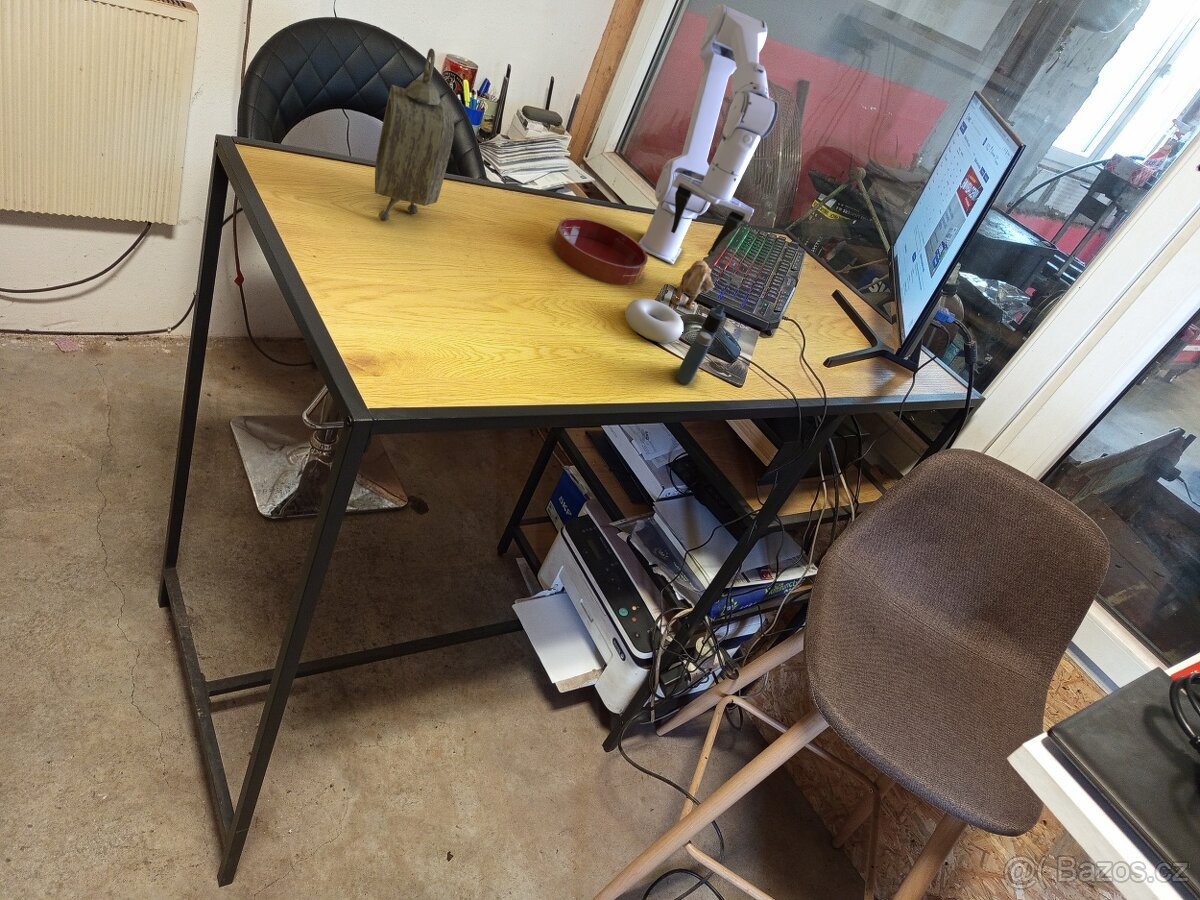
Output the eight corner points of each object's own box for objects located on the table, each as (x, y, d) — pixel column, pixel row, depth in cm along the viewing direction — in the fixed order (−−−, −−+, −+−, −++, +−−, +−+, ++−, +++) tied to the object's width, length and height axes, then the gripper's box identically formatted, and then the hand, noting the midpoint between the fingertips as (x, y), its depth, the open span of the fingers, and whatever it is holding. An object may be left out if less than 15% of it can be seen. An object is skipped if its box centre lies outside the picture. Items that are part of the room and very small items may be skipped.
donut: (616, 329, 122) (675, 354, 122) (624, 311, 120) (683, 336, 120) (627, 305, 130) (682, 328, 130) (634, 287, 128) (690, 311, 128)
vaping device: (695, 373, 120) (730, 308, 113) (688, 387, 115) (724, 320, 108) (680, 366, 120) (714, 300, 113) (672, 379, 115) (707, 312, 109)
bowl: (567, 225, 147) (574, 208, 145) (648, 264, 146) (655, 248, 144) (539, 252, 133) (545, 234, 131) (628, 295, 132) (636, 278, 130)
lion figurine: (697, 322, 135) (720, 277, 129) (669, 310, 134) (691, 265, 129) (698, 288, 146) (719, 246, 141) (673, 277, 146) (693, 234, 141)
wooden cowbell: (370, 185, 129) (401, 27, 115) (425, 199, 132) (461, 47, 118) (371, 223, 118) (405, 55, 104) (429, 238, 122) (470, 77, 108)
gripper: (684, 154, 126) (651, 229, 134) (764, 192, 126) (727, 265, 134) (691, 145, 132) (659, 218, 140) (767, 182, 132) (731, 252, 140)
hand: (693, 240), depth 137 cm, fingers open, 7 cm apart
